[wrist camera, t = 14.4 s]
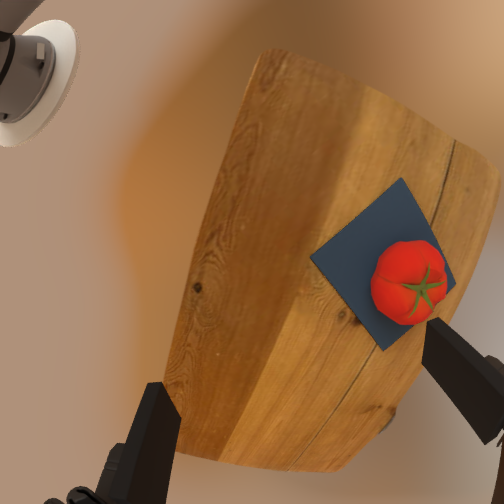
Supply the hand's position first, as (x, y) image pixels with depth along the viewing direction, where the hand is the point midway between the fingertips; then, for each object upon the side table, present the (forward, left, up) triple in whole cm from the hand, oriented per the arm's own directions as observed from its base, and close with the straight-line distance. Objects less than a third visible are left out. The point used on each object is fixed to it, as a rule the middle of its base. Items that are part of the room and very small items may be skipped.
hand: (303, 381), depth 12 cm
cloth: (+14, +12, -23) cm, 29 cm away
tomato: (+14, +12, -23) cm, 29 cm away
